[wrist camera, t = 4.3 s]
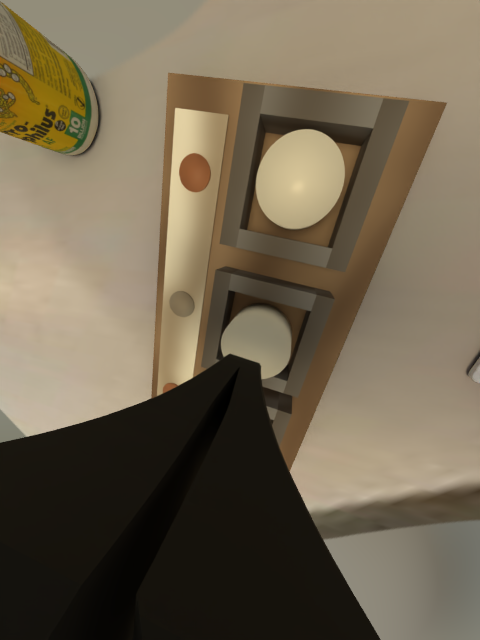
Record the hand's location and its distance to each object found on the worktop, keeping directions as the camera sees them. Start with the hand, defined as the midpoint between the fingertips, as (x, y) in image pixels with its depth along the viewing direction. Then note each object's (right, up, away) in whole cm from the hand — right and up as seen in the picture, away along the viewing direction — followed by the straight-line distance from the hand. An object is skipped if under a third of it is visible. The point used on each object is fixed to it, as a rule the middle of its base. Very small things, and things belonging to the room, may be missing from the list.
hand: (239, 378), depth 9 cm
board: (+1, +3, +8) cm, 9 cm away
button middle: (+1, +2, +6) cm, 6 cm away
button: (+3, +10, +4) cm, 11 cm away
